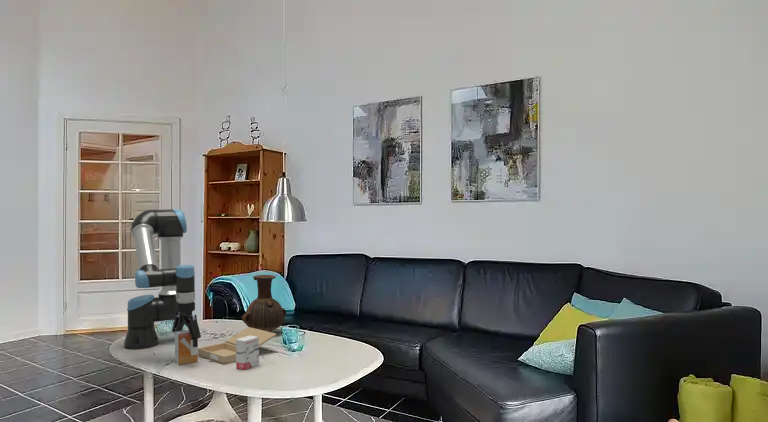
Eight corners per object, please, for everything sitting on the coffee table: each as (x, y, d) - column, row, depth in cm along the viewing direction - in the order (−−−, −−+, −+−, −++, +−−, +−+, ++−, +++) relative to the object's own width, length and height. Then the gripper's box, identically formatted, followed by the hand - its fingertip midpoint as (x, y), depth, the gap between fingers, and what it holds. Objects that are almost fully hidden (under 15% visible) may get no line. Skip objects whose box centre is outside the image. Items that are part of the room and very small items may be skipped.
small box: (178, 365, 227) (177, 334, 227) (174, 361, 233) (174, 331, 233) (198, 362, 232) (197, 331, 232) (194, 358, 237) (193, 328, 237)
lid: (248, 326, 262) (249, 328, 262) (224, 341, 252) (225, 343, 252) (276, 333, 247) (276, 335, 247) (251, 349, 237) (252, 351, 238)
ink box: (244, 370, 219) (243, 340, 219) (235, 368, 222) (235, 339, 222) (259, 364, 227) (259, 336, 226) (251, 363, 229) (250, 335, 229)
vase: (255, 341, 267) (254, 279, 267) (232, 335, 280) (232, 276, 280) (295, 332, 285) (295, 274, 285) (272, 327, 298) (271, 272, 298)
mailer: (197, 355, 242) (197, 348, 242) (225, 349, 252) (224, 342, 252) (223, 364, 228) (223, 356, 228) (251, 357, 237) (251, 350, 237)
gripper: (163, 299, 238) (164, 348, 238) (191, 306, 221) (192, 359, 221) (179, 297, 243) (180, 345, 243) (208, 303, 226) (209, 355, 226)
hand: (186, 352), depth 232 cm, fingers open, 13 cm apart
